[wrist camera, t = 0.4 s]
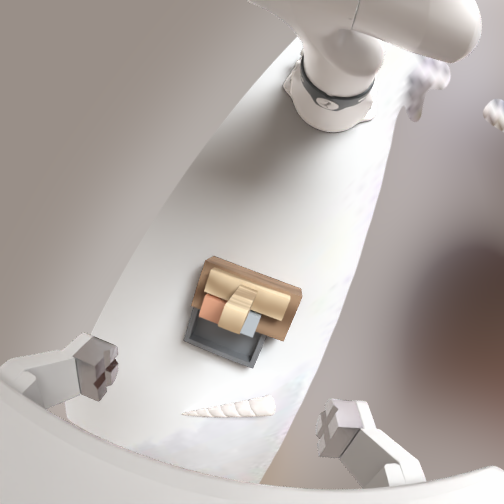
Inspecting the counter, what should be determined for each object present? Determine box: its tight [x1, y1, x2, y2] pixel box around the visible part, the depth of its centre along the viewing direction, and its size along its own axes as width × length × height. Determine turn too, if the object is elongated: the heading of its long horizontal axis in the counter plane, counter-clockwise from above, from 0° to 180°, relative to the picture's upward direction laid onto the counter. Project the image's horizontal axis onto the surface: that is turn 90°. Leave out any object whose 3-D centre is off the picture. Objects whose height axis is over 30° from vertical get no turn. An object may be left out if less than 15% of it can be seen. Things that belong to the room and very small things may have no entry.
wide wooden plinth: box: [191, 256, 302, 341], centre depth 55 cm, size 9×18×6 cm, turn 71°
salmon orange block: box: [199, 293, 228, 324], centre depth 51 cm, size 4×4×3 cm
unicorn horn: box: [182, 395, 275, 417], centre depth 60 cm, size 5×24×5 cm, turn 105°
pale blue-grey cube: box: [240, 310, 262, 338], centre depth 50 cm, size 4×4×3 cm
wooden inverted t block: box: [204, 267, 290, 334], centre depth 44 cm, size 4×14×14 cm, turn 70°
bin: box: [184, 307, 267, 368], centre depth 57 cm, size 9×15×4 cm, turn 71°
